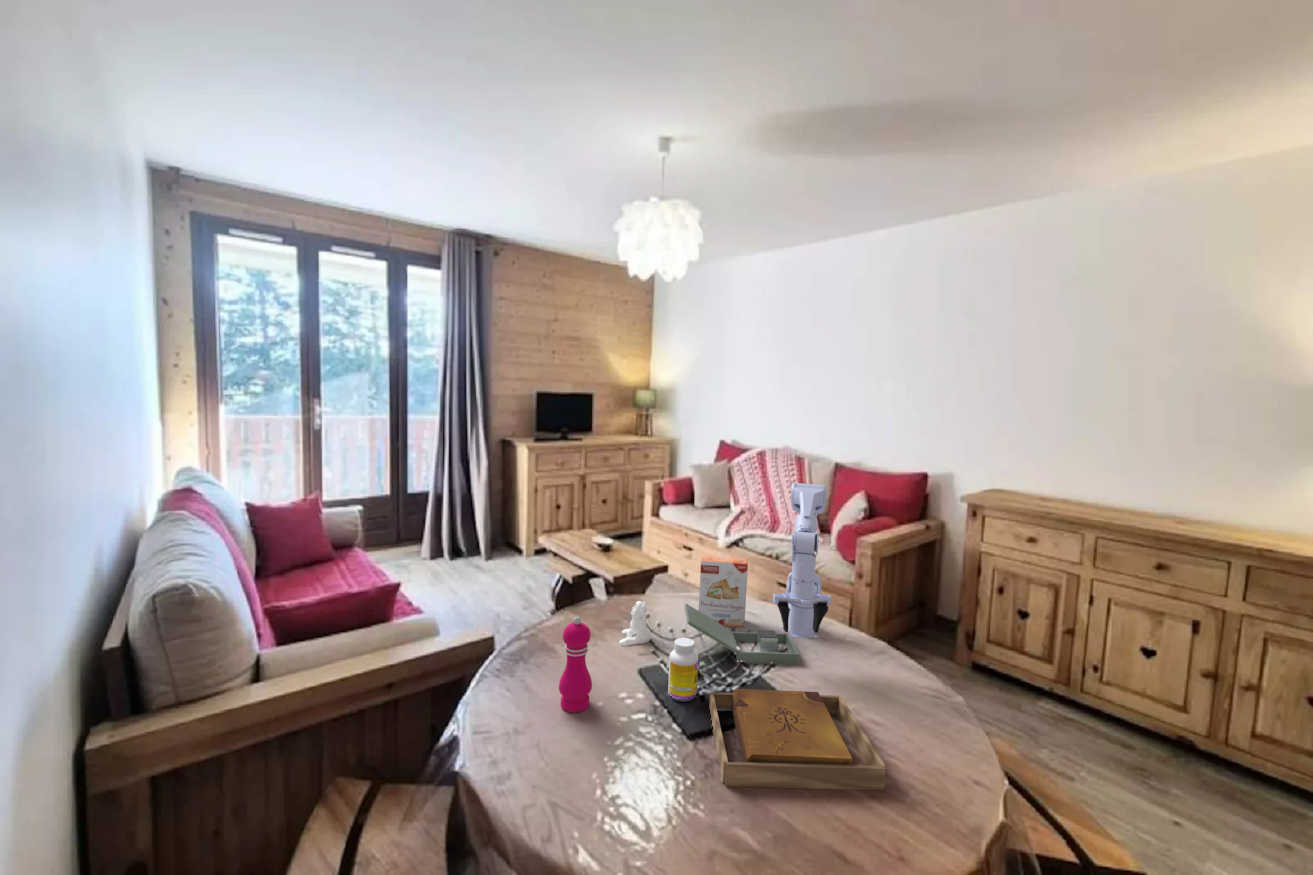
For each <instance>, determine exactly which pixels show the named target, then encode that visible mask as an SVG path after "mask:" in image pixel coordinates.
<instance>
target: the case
mask: <svg viewBox="0 0 1313 875" xmlns="http://www.w3.org/2000/svg"><path fill="white" fill-rule="evenodd" d="M684 610H685V611H684V612H685V617H686V618H685V619H686V624H687V625H689V626H690V627H692V628H693V629H695V630H697V631H698V632H700V633H701V634H703V635H705V636H707V637H709V638H710V639H712V640H713V641H715V642H716V643H718V644H719V645H722V646H723V647H725V648H726V649H728V650H730V651H731V652H733V654H734V656H735V655H736V657H737V659H740V660H743V661H745V662H747V663H746V664H766V665H767V664H768V663H771V662H772V663H773V664H774V665H776V664H777V665H778V664H779V665H799V664H800V652H799V651H798V650H797V647H796V646H795V644H794V643H793V640H792V639H791V636H790V635H789V634H788V633H786V632H785V633H783V632H782V633H780V632H775V633H776V635H777V637H778V643H785V645H786V646H787V648H788V651H789V652H777V653H776V652H758V651H741V647H740V646H739V645H738V644H737V642H752V643H754V642H755V643H757V635H758V632H744V631H743V632H742V631H732V630H731V629H729V628H727V626H723V625H721V624H719V623H718V622H716V621H714V620H713V619H711V618H709V617H708V616H706V615H704V614H703V613H701V612H699V611H698V610H699V609H698V610H697V609H696V608H694V607H693V606H691V605H690V604H687V603H685V604H684ZM773 664H772V665H773ZM768 665H769V664H768Z"/></svg>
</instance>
